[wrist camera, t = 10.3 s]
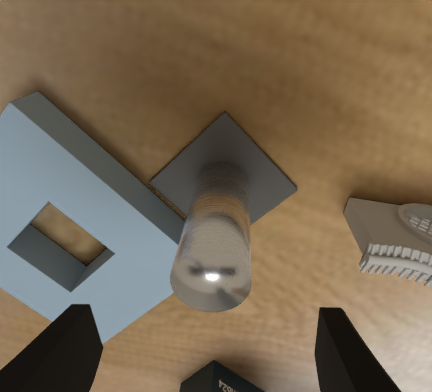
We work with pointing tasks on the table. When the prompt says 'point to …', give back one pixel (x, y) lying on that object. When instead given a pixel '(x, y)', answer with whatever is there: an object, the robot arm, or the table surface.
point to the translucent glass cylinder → (215, 242)
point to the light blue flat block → (79, 221)
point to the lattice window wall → (393, 237)
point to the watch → (217, 381)
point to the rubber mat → (229, 152)
